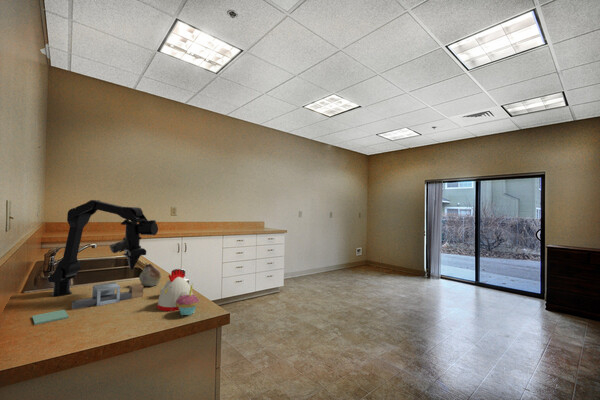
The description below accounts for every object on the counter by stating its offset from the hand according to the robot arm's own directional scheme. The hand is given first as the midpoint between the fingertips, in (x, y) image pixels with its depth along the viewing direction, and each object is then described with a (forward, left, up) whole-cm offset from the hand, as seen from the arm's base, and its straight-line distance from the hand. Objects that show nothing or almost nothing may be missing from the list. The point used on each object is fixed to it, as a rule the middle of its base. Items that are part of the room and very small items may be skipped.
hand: (131, 269), depth 126 cm
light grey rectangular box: (+12, +16, -13) cm, 24 cm away
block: (+1, +2, -13) cm, 13 cm away
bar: (+1, -10, -13) cm, 17 cm away
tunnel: (0, -9, -12) cm, 15 cm away
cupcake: (+36, +9, -13) cm, 39 cm away
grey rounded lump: (-13, +13, -13) cm, 23 cm away
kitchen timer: (+24, +10, -13) cm, 29 cm away
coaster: (+7, -28, -12) cm, 31 cm away
